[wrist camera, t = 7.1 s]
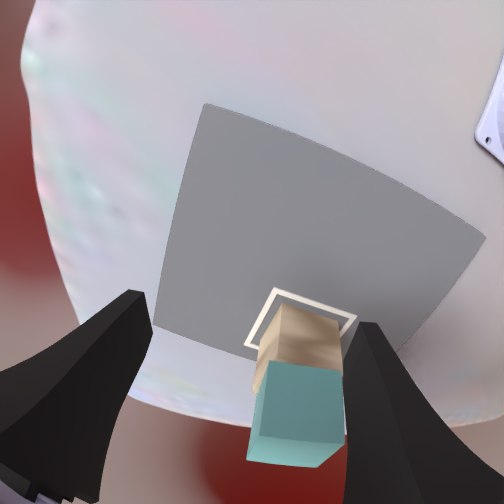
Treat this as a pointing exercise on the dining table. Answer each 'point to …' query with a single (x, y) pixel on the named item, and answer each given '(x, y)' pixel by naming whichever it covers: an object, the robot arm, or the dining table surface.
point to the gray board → (299, 240)
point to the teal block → (297, 416)
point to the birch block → (299, 342)
